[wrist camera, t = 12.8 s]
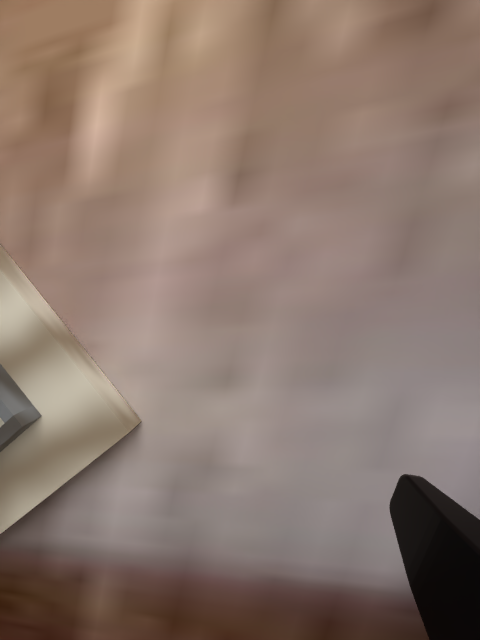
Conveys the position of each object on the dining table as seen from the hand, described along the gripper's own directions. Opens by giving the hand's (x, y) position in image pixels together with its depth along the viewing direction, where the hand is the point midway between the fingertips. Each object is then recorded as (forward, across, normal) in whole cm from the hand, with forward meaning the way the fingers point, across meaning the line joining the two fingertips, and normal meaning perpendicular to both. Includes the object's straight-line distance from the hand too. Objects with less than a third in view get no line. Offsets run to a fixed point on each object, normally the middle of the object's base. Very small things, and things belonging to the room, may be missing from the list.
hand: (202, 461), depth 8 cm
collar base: (+14, +15, +9) cm, 23 cm away
